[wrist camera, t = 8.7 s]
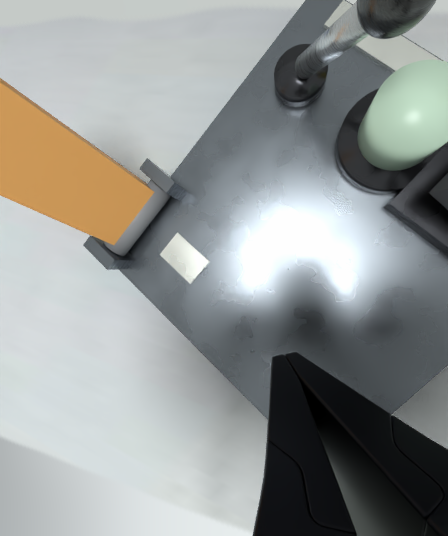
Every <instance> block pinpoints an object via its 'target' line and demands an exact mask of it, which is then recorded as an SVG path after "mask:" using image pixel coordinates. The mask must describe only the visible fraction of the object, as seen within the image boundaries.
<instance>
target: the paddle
mask: <svg viewBox="0 0 448 536" xmlns="http://www.w3.org/2000/svg"><path fill="white" fill-rule="evenodd" d="M0 195H1V196H3V197H5V198H8V199H10V200H12V201H14V202H17V203H19V204H21V205H23V206H26V207H28V208H30V209H33V210H35V211H37V212H39V213H42V214H44V215H46V216H48V217H51V218H53V219H55V220H58V221H60V222H62V223H64V224H67V225H69V226H71V227H73V228H76V229H78V230H80V231H82V232H85V233H87V234H89V235H92V236H94V237H96V238H98V239H101V240H103V241H104V243H105V245H106V246H107V247H108V248H109V249H110V250H111V251H113V252H114V253H116V254H118V255H121V256H125V255H126V254H127V252H128V251H129V250H130V248H131V247H132V246H133V245H134V243H135V242H136V241H137V239H138V238H139V237H140V236H141V234H142V233H143V232H144V230H145V229H146V228H147V227H148V225H149V224H150V223H151V221H152V220H153V219H154V218H155V216H156V215H157V214H158V212H159V211H160V210H161V209H162V207H163V206H164V205H165V203H166V202H167V201H168V199H169V198H170V197H171V195H169V194H167V193H166V192H165V191H164V190H163V189H161V188H160V187H159V186H158V185H157V184H156V183H155V182H154V181H153V180H150V181H149V183H148V184H146V183H145V182H144V181H142V180H141V179H139V178H138V177H137V176H135V175H134V174H132V173H131V172H130V171H128V170H127V169H126V168H124V167H123V166H121V165H120V164H119V163H117V162H116V161H114V160H113V159H112V158H110V157H109V156H108V155H106V154H105V153H103V152H102V151H101V150H99V149H98V148H96V147H95V146H94V145H92V144H91V143H90V142H88V141H87V140H85V139H84V138H83V137H81V136H80V135H78V134H77V133H76V132H74V131H73V130H72V129H70V128H69V127H67V126H66V125H65V124H63V123H62V122H60V121H59V120H58V119H56V118H55V117H54V116H52V115H51V114H49V113H48V112H47V111H45V110H44V109H42V108H41V107H40V106H38V105H37V104H36V103H34V102H33V101H31V100H30V99H29V98H27V97H26V96H24V95H23V94H22V93H20V92H19V91H18V90H16V89H15V88H13V87H12V86H11V85H9V84H8V83H6V82H5V81H4V80H2V79H1V78H0Z"/></svg>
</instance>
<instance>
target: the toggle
mask: <svg viewBox="0 0 448 536" xmlns="http://www.w3.org/2000/svg"><path fill="white" fill-rule="evenodd" d="M435 1H436V0H357V2H356V3H354V4H353V5H352V6H351V7H350V8H349V9H348V10H347V11H346V12H345V13H344V14H343V15H342V16H341V17H340V18H339V19H338V20H336V21H335V22H334V23H333V24H332V25H331V26H330V27H329V28H328V29H327V30H326V31H325V32H324V33H323V34H322V35H321V36H320V37H318V38H317V39H316V40H315V41H314V42H313V43H312V44H311V45H310V46H309V47H308V48H307V49H306V50H305V51H304V52H303V53H302V54H300V55H299V56H298V58H297V60H296V62H295V71H296V74H297V75H298V76H299V77H300V78H302V79H307V78H309V77H311V76H312V75H313V74H315V73H316V72H318V71H319V70H321V69H322V68H323V67H325V66H326V65H328V64H329V63H330V62H332V61H333V60H335V59H336V58H337V57H339V56H340V55H342V54H343V53H345V52H346V51H347V50H349V49H350V48H352V47H353V46H354V45H356V44H357V43H359V42H360V41H361V40H363V39H364V38H366V37H367V36H369V35H370V36H372V37H374V38H378V39H390V38H394V37H397V36H400V35H402V34H404V33H406V32H407V31H409V30H410V29H412V28H413V27H414V26H415V25H417V24H418V23H419V22H420V21H421V20H422V19H423V18H424V17H425V16H426V14H427V13H428V12H429V11H430V9H431V8H432V6H433V5H434V3H435Z"/></svg>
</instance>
